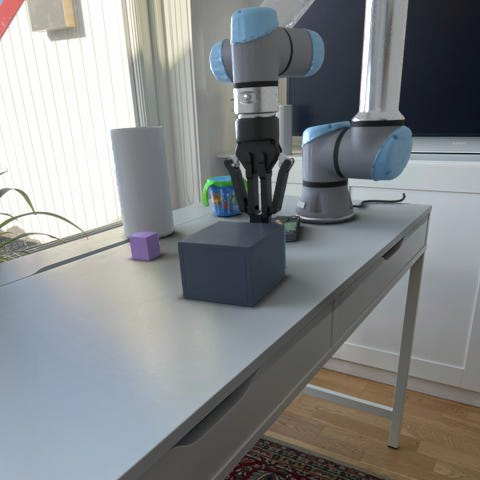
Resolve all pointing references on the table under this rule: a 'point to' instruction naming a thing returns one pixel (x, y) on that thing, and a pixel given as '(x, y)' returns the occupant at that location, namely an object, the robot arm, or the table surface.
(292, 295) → the table surface
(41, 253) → the table surface
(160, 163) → the cylinder vase
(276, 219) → the disk drive
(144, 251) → the purple block
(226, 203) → the snack cup
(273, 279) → the slate grey box
